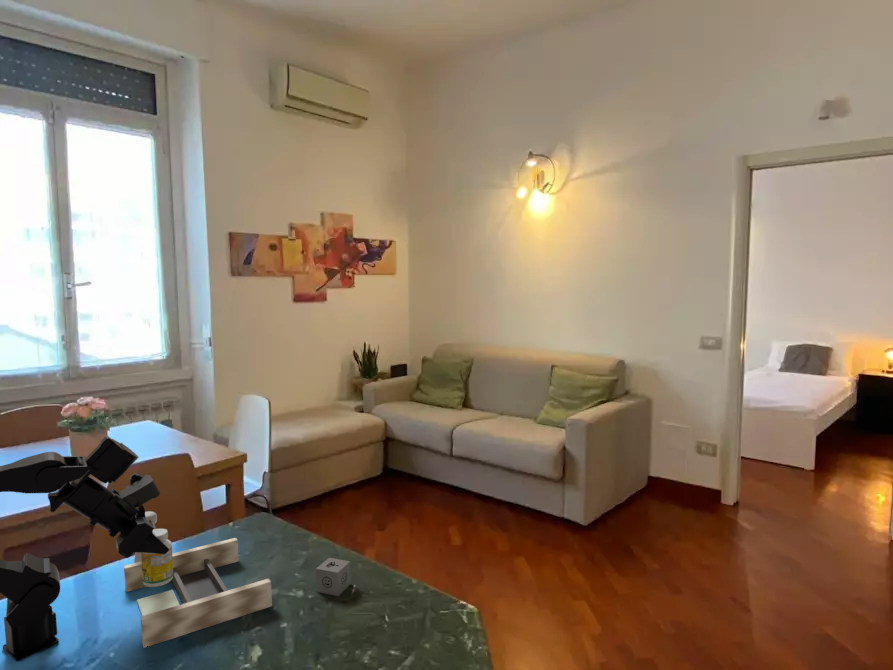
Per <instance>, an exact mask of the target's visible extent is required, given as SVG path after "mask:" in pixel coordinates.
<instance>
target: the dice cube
mask: <svg viewBox="0 0 893 670" xmlns="http://www.w3.org/2000/svg"><path fill="white" fill-rule="evenodd" d="M315 577H316V592H317V593H321V594H326V595H330V596H331V595H332V596H336V597H339V596H340V595H341V594H342V593H343V592H345V591H346V590H347V588H348V587H349V586H351V584H352V582H351V581H352V580H351V579H352V578H351V577H352V576H351V560H350V561H349V560H345V559H339V558H333V557H328V558H327V559H326V560H325V561H323V562H322V563H321V564H320V565H319V566H317V567H316V568H315Z"/></svg>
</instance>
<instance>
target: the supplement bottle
mask: <svg viewBox="0 0 893 670" xmlns="http://www.w3.org/2000/svg"><path fill="white" fill-rule="evenodd" d="M168 532H169V531H168V529H167V528H156V529H153V533H154V534H155V535H156V536H157V537H158V538H159V539H160V540H161V541H162V542H163V543H164V544H165V545H166V546H167V547H168V548H169V551H168V552H167V553H166V554H156V553H141V557H142V580H143V584H144V585H146V586H147V587H149V588H155V587H156V588H157V587H162V586H163V585H166V584H167V585H168V583H170V582H172V578H173V558H172V554H173V543H172V541H171V540H170V539H168V538H169V533H168Z"/></svg>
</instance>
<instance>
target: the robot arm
mask: <svg viewBox="0 0 893 670" xmlns="http://www.w3.org/2000/svg"><path fill="white" fill-rule="evenodd" d="M138 459H139V456H138V454H136V453H135V451H133V450H132V449H131V448H129V446H126V445H125V444H124V443H123V442H118V441H117V440H116V439H113V438H111V437H110V436H109V435H105V436H104V437H103V439H102V440H101V441H100V442H99V443H98V445H97V446H96V447H95V448H94V449H93V450H92V451H91V452H90V453H89V454H88V455H87V456H85V455H75V456H74V455H73V456H72V455H69V456H68V455H67V456H66V455H64V456H63V455H61V454H60V453H58V452H56V451H55V452H54V451H45V452H42V453H38V454H34V455H30V456H26V457H23V458H21V459H18V460H16V461H14V462H11V463H8V464H4V465H0V493H5V492H6V493H7V492H11V493H20V494H47V500H48V501H49V511H50V512H51V513H54V512H56V510H58V508H59V507H60V506H61V505H62V504H63V505H65V506H67V507H69V508H70V509H72V510H73V511H75V512H76V513H78V514H80V515H81V516H83V517H85V518H86V519H88V523H89V524H90V525H92V526H96V525H97V526H100V527H101V528H102V529H104V530H106V531H107V533H108V536H110V537H111V538H115V548H116V549H117V554H119V555H121V556H123V557H124V558H126V559H128V558H129V559H130V558H131V556H132V555H133V554H134V553H135V552H141V553H156V554H166V553H167V552H168V551H169V548H168V547H167V546H166V545H165V544H164V543H163V542H162V541H161V540H160V539H159V538H158V537H157V536H156V535H155V534H154V533H153V529H155V528H156V527H155V528H154V527H153V524H152V522H151V520H150V521H148V520H147V519H146V518H145V512H146V509H145V507H144V505H145V504H146V503H147V502H149V501H150V500H152V499H156V498H158V497H159V496H160V495H161V491H160V489H159V487H158V486H157V484H156V483H155V481H154V479H153V478H152V476H151V475H150V474H145V475H144V476H143V475H142V474H139V473H138V472H135V473H133V474H131V475H129V477H128V484H129V485H126V486H125V488H124V489H122V490H120V491H119V490H117V489H116V488H110V489H109V488H107V487H106V486H105V485H103V484H108V483H109V484H112V482H114V483H116V482H117V481H118V480H120V478H121V477H122V476H123V475H124V474H125V473H126V472H127V470H128V469H129V468H131V466H132V465H133V464H135V462H136V461H137V460H138ZM91 476H92V477H94V478H92V477H91ZM95 479H96V480H95ZM99 481H100V482H101V483H100V482H99ZM102 483H103V484H102ZM118 533H119V535H118ZM117 535H118V536H117ZM50 559H51V558H50V557H44V558H42V557H38V556H35V555H34V554H32V553H29V552H26V553H24V555H23V558H22V559H21V560H11V561H9V560H6V559H5V560H4V559H0V595H2V596H3V597H4V598H6V614H5V616H4V617H3V623H4V634H5V635H4V636H5V644H3V645H2V650H3V651H4V652H5V653H6V654H8V655H9V656H10V657H11V658H12V659H13V660H14V661H15V662H19V661H22V660H25V659H26V658H28V657H30V656H33V655H35V654H37V653H39V652H41V651H44V650H45V649H48V648H50V647H53V646H55V645H57V644H58V643H60V639H59V638H57V637H56V636H57V635H58V626H57V625H58V624H57V614H56V612H54V611H53V606H52V605H51V604H52V603H54V602H55V601H56V600H57V599H58V597H59V595H60V592H61V579H60V572H59V570H58V568H57V566H56V565H55V564H54V563H52V562H51V560H50Z"/></svg>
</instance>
